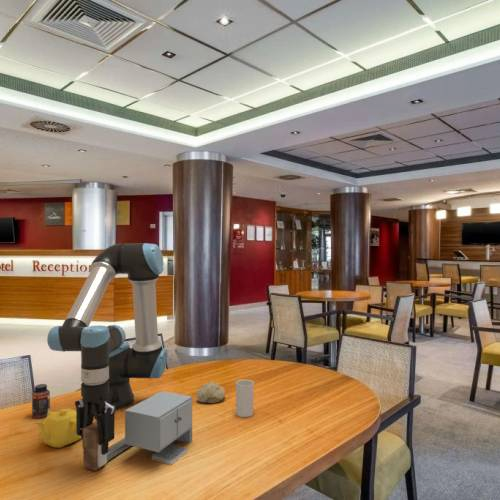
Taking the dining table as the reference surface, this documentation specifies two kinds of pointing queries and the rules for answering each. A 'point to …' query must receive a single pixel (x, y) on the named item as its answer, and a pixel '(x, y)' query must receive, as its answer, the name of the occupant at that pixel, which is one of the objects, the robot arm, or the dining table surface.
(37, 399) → the supplement bottle
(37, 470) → the dining table surface
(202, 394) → the decorative item
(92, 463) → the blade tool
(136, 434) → the low cabinet
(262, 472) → the dining table surface
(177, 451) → the plate
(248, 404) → the mug
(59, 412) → the teapot
